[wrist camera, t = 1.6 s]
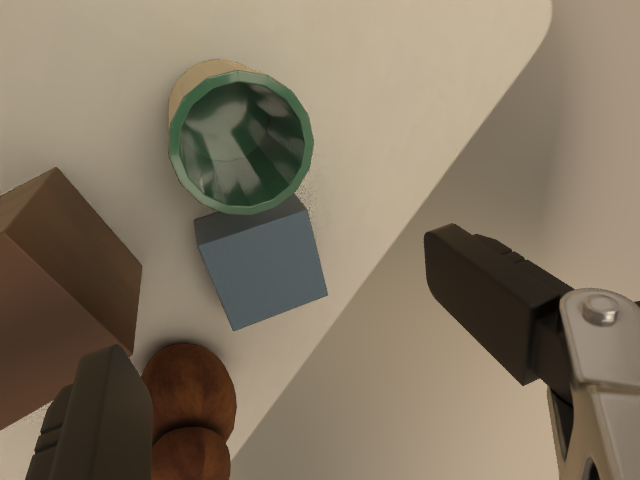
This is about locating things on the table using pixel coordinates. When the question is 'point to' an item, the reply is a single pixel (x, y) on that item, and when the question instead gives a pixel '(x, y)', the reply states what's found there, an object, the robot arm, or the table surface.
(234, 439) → the table surface
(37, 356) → the walnut block
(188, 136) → the cup
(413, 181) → the table surface
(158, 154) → the table surface
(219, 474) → the wooden figurine
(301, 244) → the slate block
